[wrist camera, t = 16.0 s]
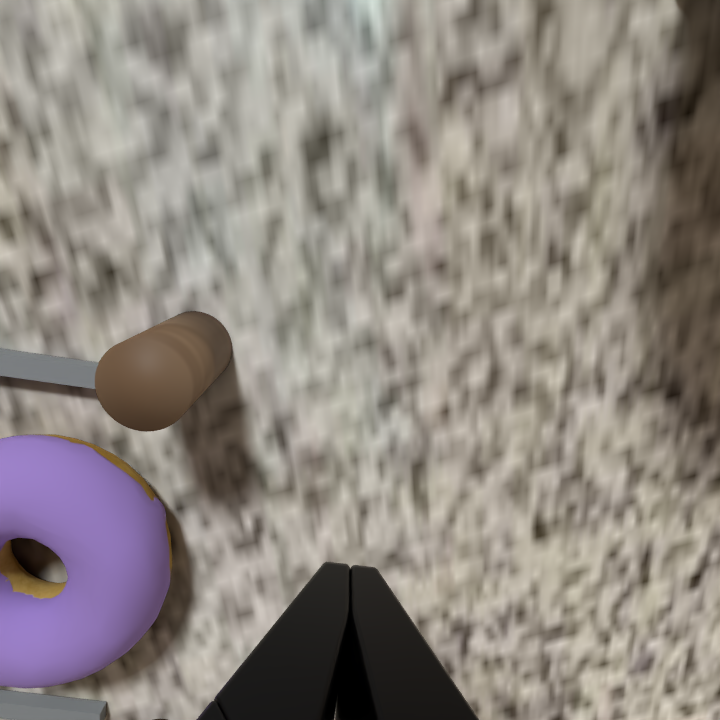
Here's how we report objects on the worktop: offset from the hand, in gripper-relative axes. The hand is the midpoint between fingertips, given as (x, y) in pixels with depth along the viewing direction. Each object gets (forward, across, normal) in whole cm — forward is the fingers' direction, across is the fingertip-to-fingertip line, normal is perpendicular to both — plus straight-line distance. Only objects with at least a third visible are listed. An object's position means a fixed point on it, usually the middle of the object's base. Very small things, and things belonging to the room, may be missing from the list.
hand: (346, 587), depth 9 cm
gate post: (+11, +6, 0) cm, 13 cm away
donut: (+12, +11, +8) cm, 18 cm away
